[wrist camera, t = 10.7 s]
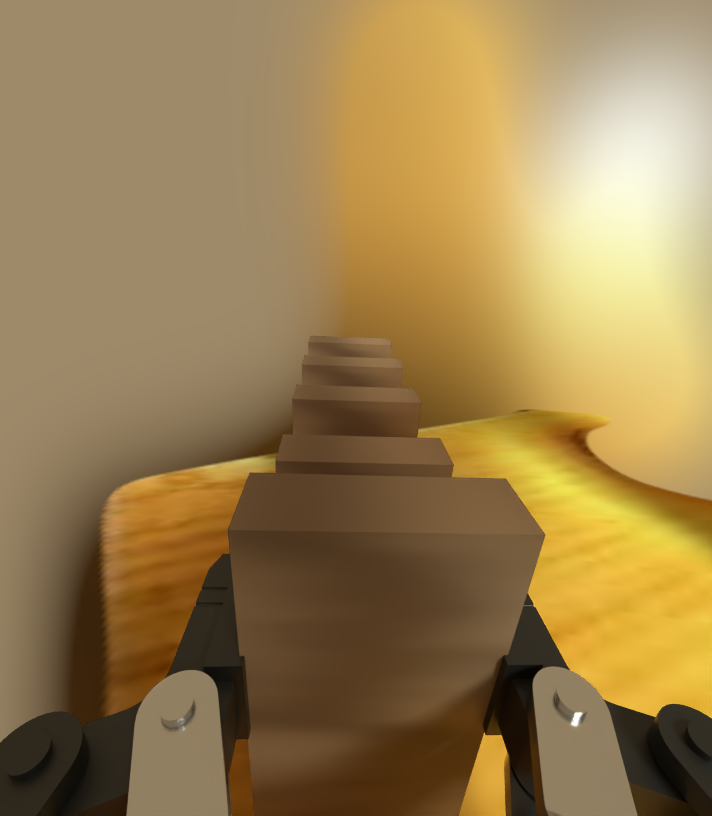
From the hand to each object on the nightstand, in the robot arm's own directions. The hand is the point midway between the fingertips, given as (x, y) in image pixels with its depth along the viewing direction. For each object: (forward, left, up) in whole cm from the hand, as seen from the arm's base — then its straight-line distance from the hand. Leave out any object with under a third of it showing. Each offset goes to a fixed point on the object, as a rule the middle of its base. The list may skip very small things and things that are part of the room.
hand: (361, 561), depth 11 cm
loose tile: (0, +3, -6) cm, 7 cm away
